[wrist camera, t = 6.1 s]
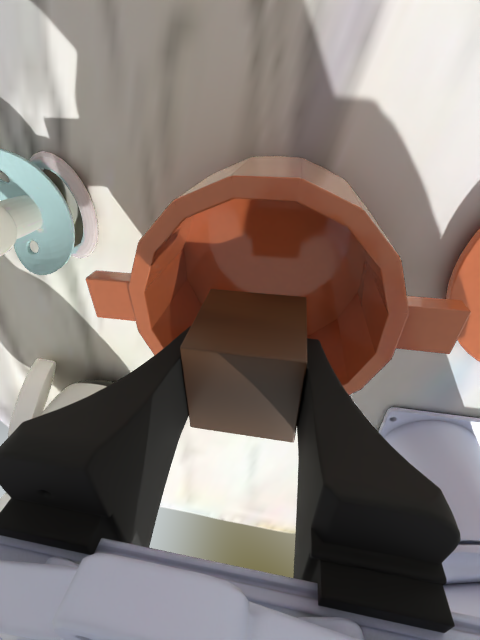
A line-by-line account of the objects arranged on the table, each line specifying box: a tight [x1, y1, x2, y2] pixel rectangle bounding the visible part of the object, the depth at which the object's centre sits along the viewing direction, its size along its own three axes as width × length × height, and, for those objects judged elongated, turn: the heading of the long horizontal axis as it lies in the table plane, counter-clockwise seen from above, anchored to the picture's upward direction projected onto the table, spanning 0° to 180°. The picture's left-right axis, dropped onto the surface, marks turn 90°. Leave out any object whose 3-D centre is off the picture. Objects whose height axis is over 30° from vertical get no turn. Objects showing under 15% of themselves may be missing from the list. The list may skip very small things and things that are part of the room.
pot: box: [86, 156, 471, 395], centre depth 17 cm, size 13×18×6 cm
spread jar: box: [0, 358, 115, 512], centre depth 25 cm, size 12×11×12 cm
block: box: [180, 289, 307, 442], centre depth 12 cm, size 4×4×4 cm
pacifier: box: [0, 148, 98, 275], centre depth 17 cm, size 7×6×6 cm
